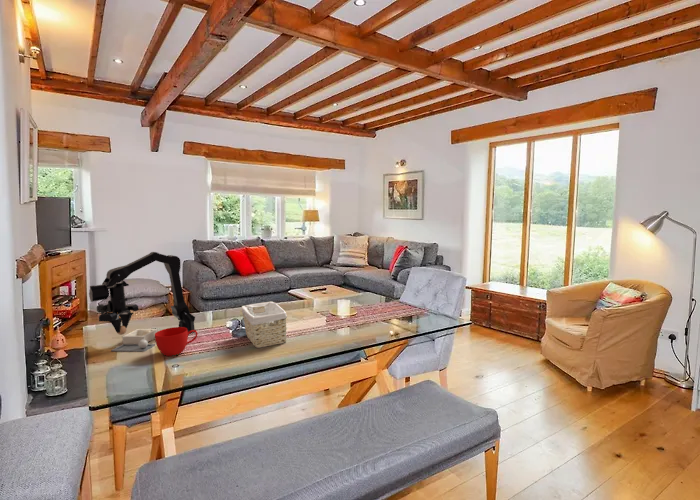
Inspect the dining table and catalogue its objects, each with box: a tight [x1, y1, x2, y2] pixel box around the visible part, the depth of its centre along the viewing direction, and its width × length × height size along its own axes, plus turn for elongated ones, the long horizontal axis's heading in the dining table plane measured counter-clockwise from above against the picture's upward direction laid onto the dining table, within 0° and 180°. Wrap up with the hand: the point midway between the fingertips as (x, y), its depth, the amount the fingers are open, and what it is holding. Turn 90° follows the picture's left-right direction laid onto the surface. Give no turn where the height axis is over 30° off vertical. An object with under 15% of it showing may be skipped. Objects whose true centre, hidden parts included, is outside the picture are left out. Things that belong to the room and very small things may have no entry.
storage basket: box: [241, 301, 288, 349], centre depth 191 cm, size 24×16×15 cm
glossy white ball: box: [138, 339, 149, 349], centre depth 185 cm, size 4×4×4 cm
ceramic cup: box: [154, 326, 198, 357], centre depth 178 cm, size 13×17×10 cm
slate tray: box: [111, 343, 156, 353], centre depth 186 cm, size 16×8×1 cm, turn 82°
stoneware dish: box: [121, 328, 159, 344], centre depth 197 cm, size 11×11×4 cm
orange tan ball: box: [117, 325, 127, 336], centre depth 185 cm, size 4×4×4 cm
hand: (121, 331), depth 185 cm, fingers closed on orange tan ball, 4 cm apart
